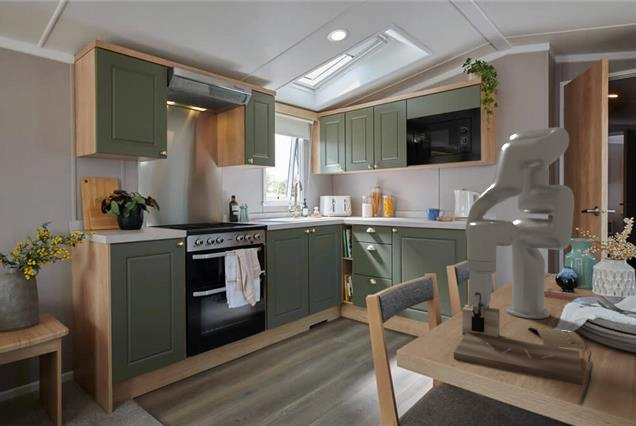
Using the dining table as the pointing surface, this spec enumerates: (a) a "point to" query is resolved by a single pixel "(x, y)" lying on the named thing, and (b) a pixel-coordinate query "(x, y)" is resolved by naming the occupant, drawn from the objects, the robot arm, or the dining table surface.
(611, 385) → the dining table surface
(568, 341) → the clay tablet
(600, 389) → the dining table surface
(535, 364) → the walnut board
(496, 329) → the cream carton
